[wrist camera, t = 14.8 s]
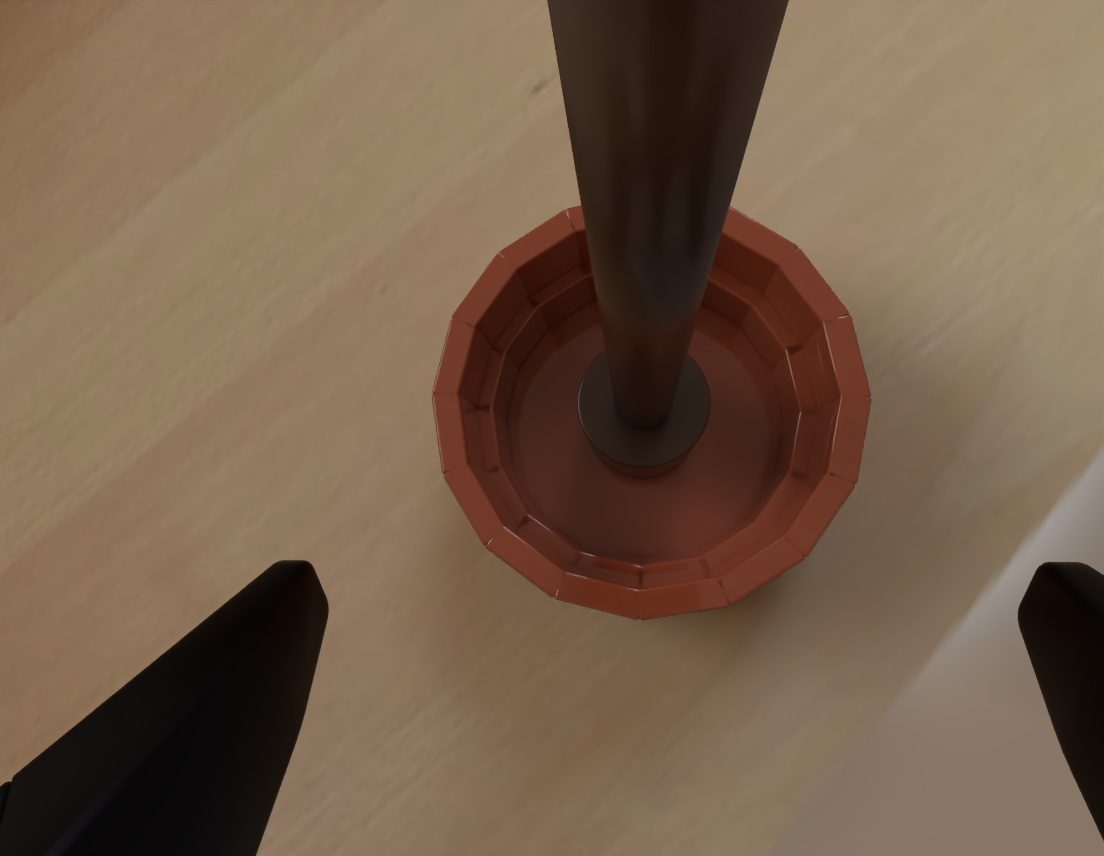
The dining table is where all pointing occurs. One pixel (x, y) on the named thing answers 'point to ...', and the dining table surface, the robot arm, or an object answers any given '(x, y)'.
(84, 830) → the robot arm
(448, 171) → the dining table surface
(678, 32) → the brown pestle
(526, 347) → the bowl
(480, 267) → the dining table surface
